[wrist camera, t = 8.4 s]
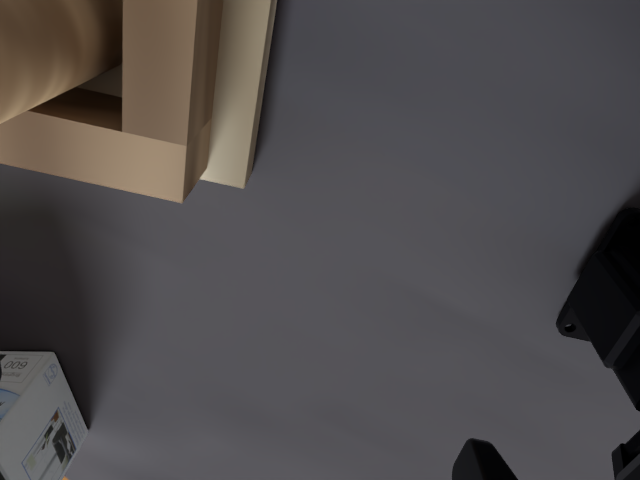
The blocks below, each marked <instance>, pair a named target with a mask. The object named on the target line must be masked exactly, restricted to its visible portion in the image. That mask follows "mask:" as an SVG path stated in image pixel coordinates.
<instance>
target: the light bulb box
mask: <svg viewBox="0 0 640 480" xmlns="http://www.w3.org/2000/svg"><path fill="white" fill-rule="evenodd" d="M0 362H1V368H2V376H1V380H0V480H62V479H63V477H64V475H65V474H66V472H67V470H68V468H69V466H70V465H71V463H72V461H73V459H74V458H75V456H76V454H77V452H78V451H79V449H80V447H81V445H82V444H83V442H84V440H85V438H86V437H87V435H88V429H87V427H86V425H85V423H84V420H83V418H82V416H81V413H80V411H79V409H78V406H77V404H76V401H75V399H74V397H73V394H72V392H71V390H70V387H69V385H68V383H67V380H66V378H65V376H64V373H63V371H62V369H61V366H60V364H59V362H58V359H57V357H56V355H55V353H54V352H22V351H0Z"/></svg>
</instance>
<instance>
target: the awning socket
mask: <svg viewBox="0 0 640 480" xmlns="http://www.w3.org/2000/svg"><path fill="white" fill-rule="evenodd" d="M276 5H277V0H123V63H122V64H120V65H119V66H117V67H115V68H113V69H111V70H109V71H107V72H105V73H103V74H101V75H99V76H96V77H94V78H92V79H90V80H88V81H86V82H84V83H82V84H80V85H78V86H76V87H74V88H72V89H70V90H68V91H66V92H64V93H62V94H60V95H58V96H56V97H54V98H52V99H50V100H48V101H46V102H44V103H42V104H39V105H37V106H35V107H33V108H31V109H29V110H27V111H25V112H23V113H21V114H19V115H17V116H15V117H13V118H11V119H9V120H7V121H5V122H3V123H1V124H0V163H1V164H6V165H10V166H15V167H19V168H24V169H28V170H33V171H38V172H42V173H47V174H51V175H56V176H61V177H65V178H70V179H74V180H79V181H83V182H88V183H93V184H97V185H102V186H106V187H111V188H115V189H120V190H125V191H129V192H134V193H138V194H143V195H147V196H152V197H157V198H161V199H166V200H170V201H175V202H179V203H183V201H184V200H185V199H186V197H187V196H188V194H189V193H190V192H191V190H192V189H193V187H194V186H195V184H196V183H197V182H198V180H199V179H202V180H207V181H211V182H216V183H221V184H225V185H230V186H234V187H239V188H243V189H244V188H245V186H246V184H247V182H248V180H249V178H250V176H251V174H252V167H253V160H254V153H255V147H256V140H257V133H258V126H259V120H260V113H261V106H262V100H263V93H264V86H265V79H266V73H267V66H268V59H269V52H270V46H271V39H272V32H273V26H274V19H275V12H276Z"/></svg>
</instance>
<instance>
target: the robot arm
mask: <svg viewBox="0 0 640 480" xmlns="http://www.w3.org/2000/svg"><path fill="white" fill-rule="evenodd" d="M632 218H636V219H635V221H634V222H633V223H631V224H627V222H628V221H629V220H630V219H632ZM567 300H568V302H567V303H566V305H565V307H564V309H563V310H562V312H561V314H560V315H559V317H558V319H557V321H556V327H557V329H558V331H559V332H560V333H561V335H563V336H566V337H571V338H576V339H580V340H585V341H590V342H591V343H592V345H593V347H594V348H595V350H596V352H597V354H598V355H599V357H600V359H601V360H602V362H603V364H604V366H605V367H606V368H611V369H613V371H614V373H615V374H616V376H617V378H618V379H619V381H620V383H621V384H622V386H623V388H624V390H625V391H626V393H627V395H628V396H629V398H630V400H631V401H632V403H633V405H634V407H635V408H636V410H638V411H640V209H638V208H628V209H625V210H623V211H622V212H620V213H619V215H618V216H617V217H616V219H615V221H614V223H613V224H612V226H611V228H610V229H609V231H608V233H607V235H606V236H605V238H604V240H603V241H602V243H601V245H600V247H599V248H598V250H597V252H596V253H594V254H593V255H592V257H591V258H590V260H589V262H588V264H587V265H586V267H585V269H584V270H583V272H582V274H581V276H580V277H579V279H578V281H577V283H576V284H575V286H574V288H573V290H572V291H571V293H570V295H569V296H568V298H567ZM568 324H572V325H571V326H568V327H565V326H566V325H568ZM1 376H2V368H1V362H0V380H1ZM612 462H613V470H614V478H615V480H640V430H639V431H638V432H637V433H636V434H635V435H634V436H633V437H632V438H631V439H630V440H629V441H628V442H627V443H626V444H623V443H622V444H620V445H619V446H618V447H617V448H616V449H615V450H614V451H613V452H612ZM452 480H518V479H517V477H516V476H515V475H514V473H513V472H512V471H511V469H510V468H509V466H508V465H507V464H506V462H505V461H504V460H503V458H502V457H501V455H500V454H499V453H498V451H497V450H496V448H495V447H494V446H493V445H492V444H491V443H490V442H488V441H484V440H479V439H474V438H470V439H468V440H467V441H466V443H465V445H464V446H463V448H462V450H461V452H460V454H459V455H458V457H457V459H456V461H455V463H454V466H453V470H452Z"/></svg>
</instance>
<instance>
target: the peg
mask: <svg viewBox="0 0 640 480" xmlns="http://www.w3.org/2000/svg"><path fill="white" fill-rule="evenodd" d="M122 63H123V0H0V124H1V123H3V122H5V121H7V120H9V119H11V118H13V117H15V116H17V115H19V114H21V113H23V112H25V111H27V110H29V109H31V108H33V107H35V106H37V105H39V104H42V103H44V102H46V101H48V100H50V99H52V98H54V97H56V96H58V95H60V94H62V93H64V92H66V91H68V90H70V89H72V88H74V87H76V86H78V85H80V84H82V83H84V82H86V81H88V80H90V79H92V78H94V77H96V76H99V75H101V74H103V73H105V72H107V71H109V70H111V69H113V68H115V67H117V66H119V65H120V64H122Z"/></svg>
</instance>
